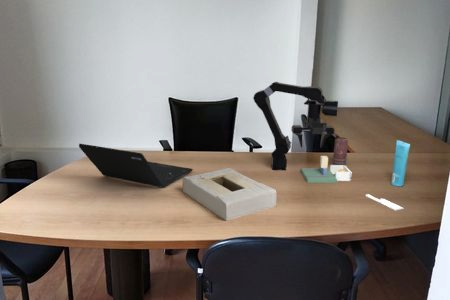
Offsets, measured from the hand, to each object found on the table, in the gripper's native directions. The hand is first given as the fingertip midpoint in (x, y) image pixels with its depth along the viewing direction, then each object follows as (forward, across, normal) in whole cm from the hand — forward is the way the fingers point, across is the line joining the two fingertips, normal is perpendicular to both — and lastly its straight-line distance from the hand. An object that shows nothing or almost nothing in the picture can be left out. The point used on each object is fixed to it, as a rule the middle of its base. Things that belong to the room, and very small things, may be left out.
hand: (311, 147), depth 180 cm
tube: (+12, +35, -16) cm, 40 cm away
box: (+13, -39, -32) cm, 53 cm away
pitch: (+12, +3, -7) cm, 14 cm away
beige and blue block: (+10, +5, -7) cm, 13 cm away
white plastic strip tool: (+12, +22, -34) cm, 43 cm away
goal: (+12, +13, -7) cm, 19 cm away
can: (+12, +17, +9) cm, 23 cm away
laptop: (+13, -78, -11) cm, 80 cm away
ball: (+10, +13, -7) cm, 18 cm away
